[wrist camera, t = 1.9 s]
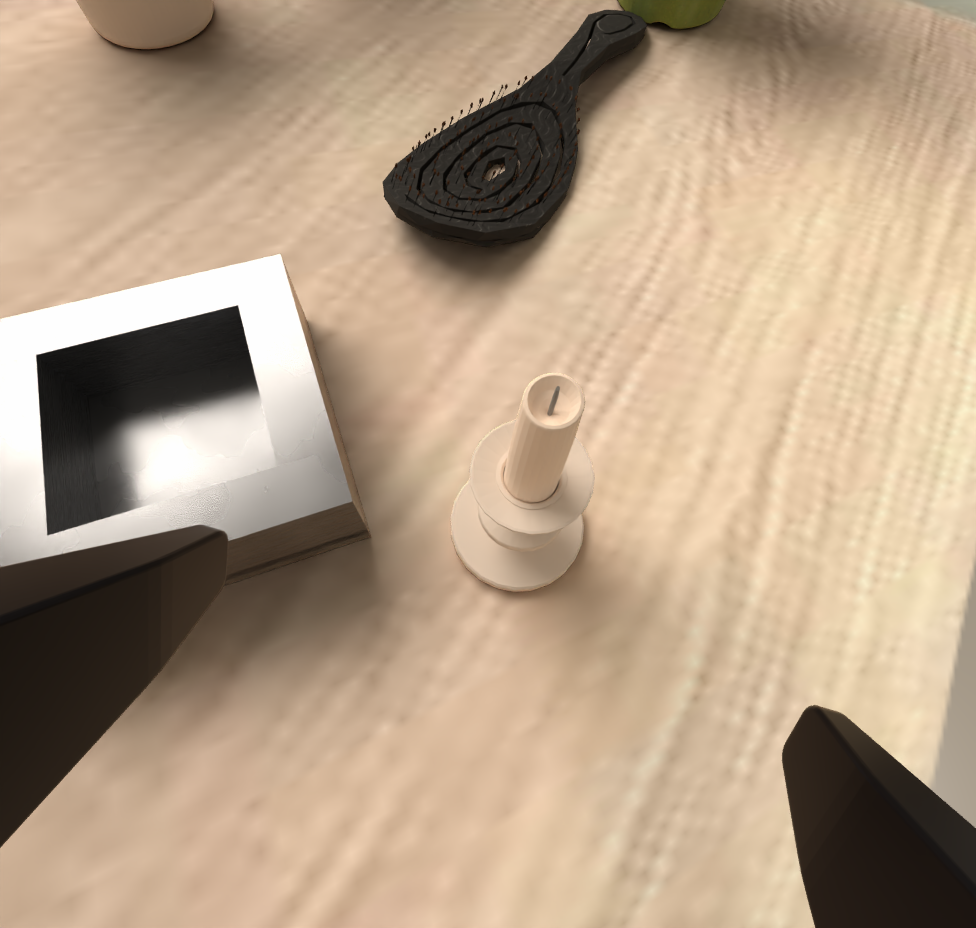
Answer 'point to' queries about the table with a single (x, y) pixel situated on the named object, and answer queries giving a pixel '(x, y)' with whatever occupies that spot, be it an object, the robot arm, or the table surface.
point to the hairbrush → (508, 148)
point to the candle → (527, 492)
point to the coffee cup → (147, 20)
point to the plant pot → (674, 11)
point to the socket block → (173, 423)
